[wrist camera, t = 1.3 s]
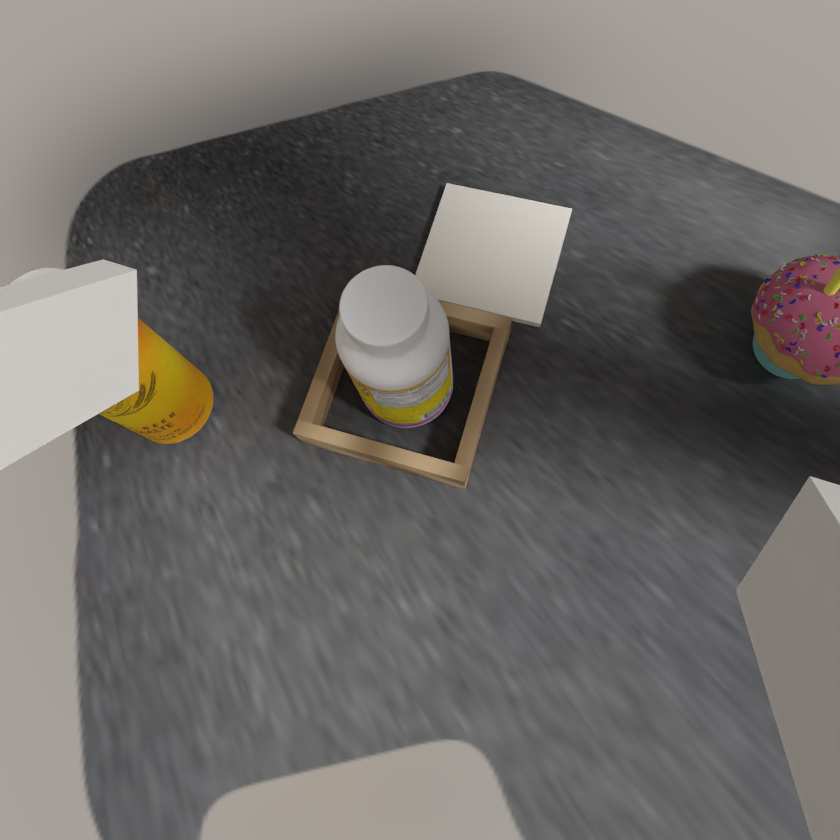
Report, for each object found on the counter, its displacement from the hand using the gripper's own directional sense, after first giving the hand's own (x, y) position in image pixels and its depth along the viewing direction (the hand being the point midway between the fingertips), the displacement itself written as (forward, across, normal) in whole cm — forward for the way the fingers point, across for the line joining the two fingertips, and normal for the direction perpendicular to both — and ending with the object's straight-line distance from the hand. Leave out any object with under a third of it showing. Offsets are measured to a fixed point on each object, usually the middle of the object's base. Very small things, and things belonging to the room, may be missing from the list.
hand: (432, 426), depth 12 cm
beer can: (+24, -22, -19) cm, 37 cm away
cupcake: (+35, +19, -5) cm, 40 cm away
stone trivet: (+36, -3, -4) cm, 37 cm away
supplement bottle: (+28, -6, -13) cm, 32 cm away
